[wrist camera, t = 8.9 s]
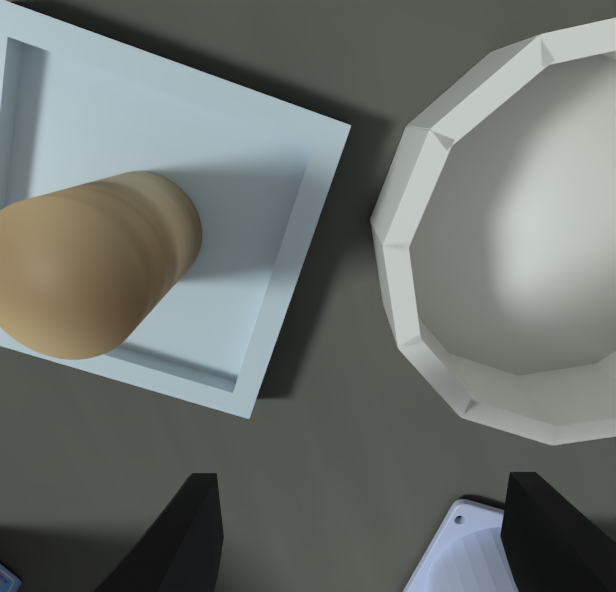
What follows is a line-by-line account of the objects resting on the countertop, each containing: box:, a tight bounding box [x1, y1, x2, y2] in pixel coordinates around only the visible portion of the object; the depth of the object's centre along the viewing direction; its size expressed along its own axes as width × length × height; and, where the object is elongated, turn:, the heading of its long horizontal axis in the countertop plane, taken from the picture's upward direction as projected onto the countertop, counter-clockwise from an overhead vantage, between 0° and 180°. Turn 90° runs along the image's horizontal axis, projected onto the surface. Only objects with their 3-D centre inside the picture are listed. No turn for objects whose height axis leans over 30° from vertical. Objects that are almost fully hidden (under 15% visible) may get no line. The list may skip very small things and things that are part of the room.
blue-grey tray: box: [0, 0, 351, 419], centre depth 18 cm, size 12×12×2 cm
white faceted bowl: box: [370, 18, 616, 445], centre depth 17 cm, size 14×14×4 cm
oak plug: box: [0, 171, 202, 360], centre depth 16 cm, size 4×4×6 cm
